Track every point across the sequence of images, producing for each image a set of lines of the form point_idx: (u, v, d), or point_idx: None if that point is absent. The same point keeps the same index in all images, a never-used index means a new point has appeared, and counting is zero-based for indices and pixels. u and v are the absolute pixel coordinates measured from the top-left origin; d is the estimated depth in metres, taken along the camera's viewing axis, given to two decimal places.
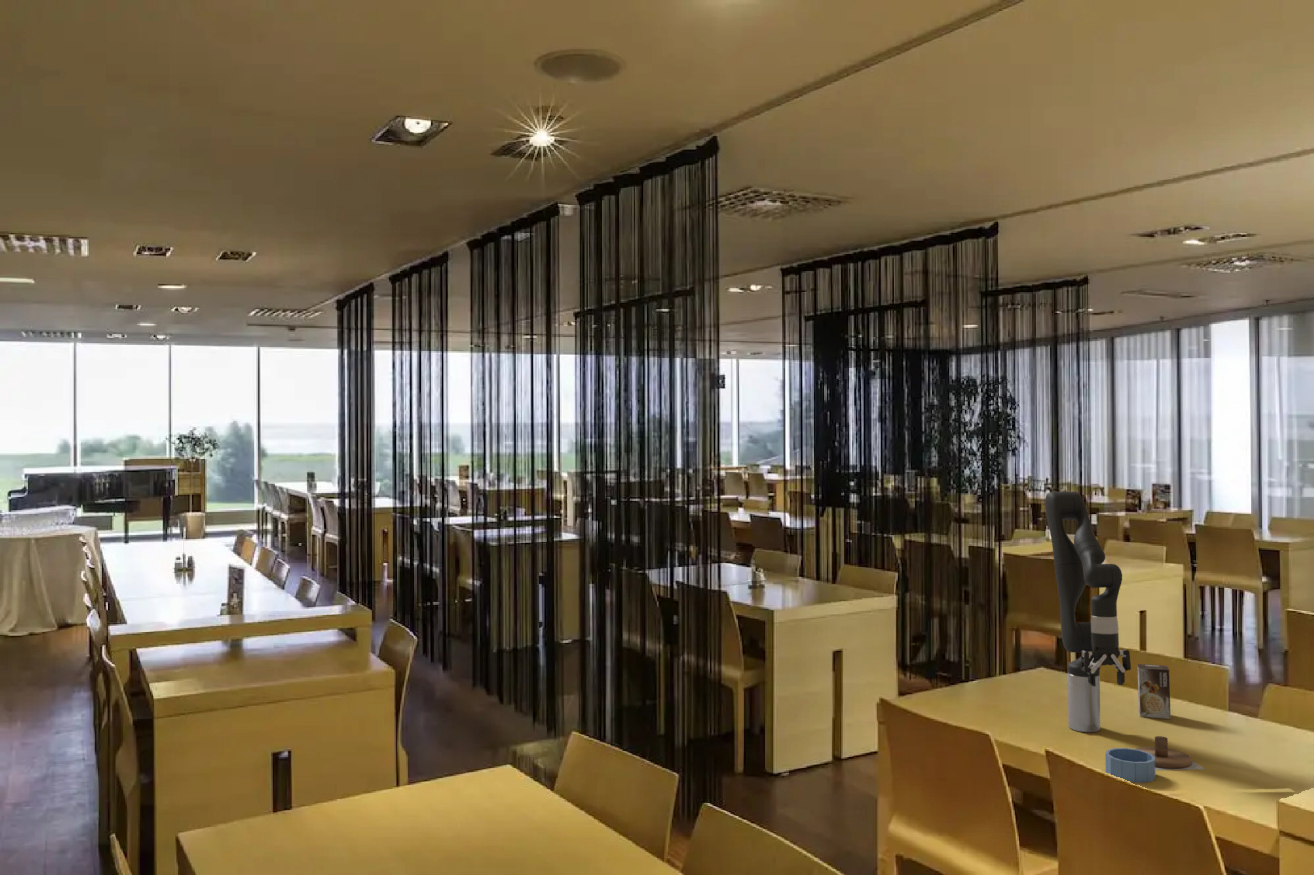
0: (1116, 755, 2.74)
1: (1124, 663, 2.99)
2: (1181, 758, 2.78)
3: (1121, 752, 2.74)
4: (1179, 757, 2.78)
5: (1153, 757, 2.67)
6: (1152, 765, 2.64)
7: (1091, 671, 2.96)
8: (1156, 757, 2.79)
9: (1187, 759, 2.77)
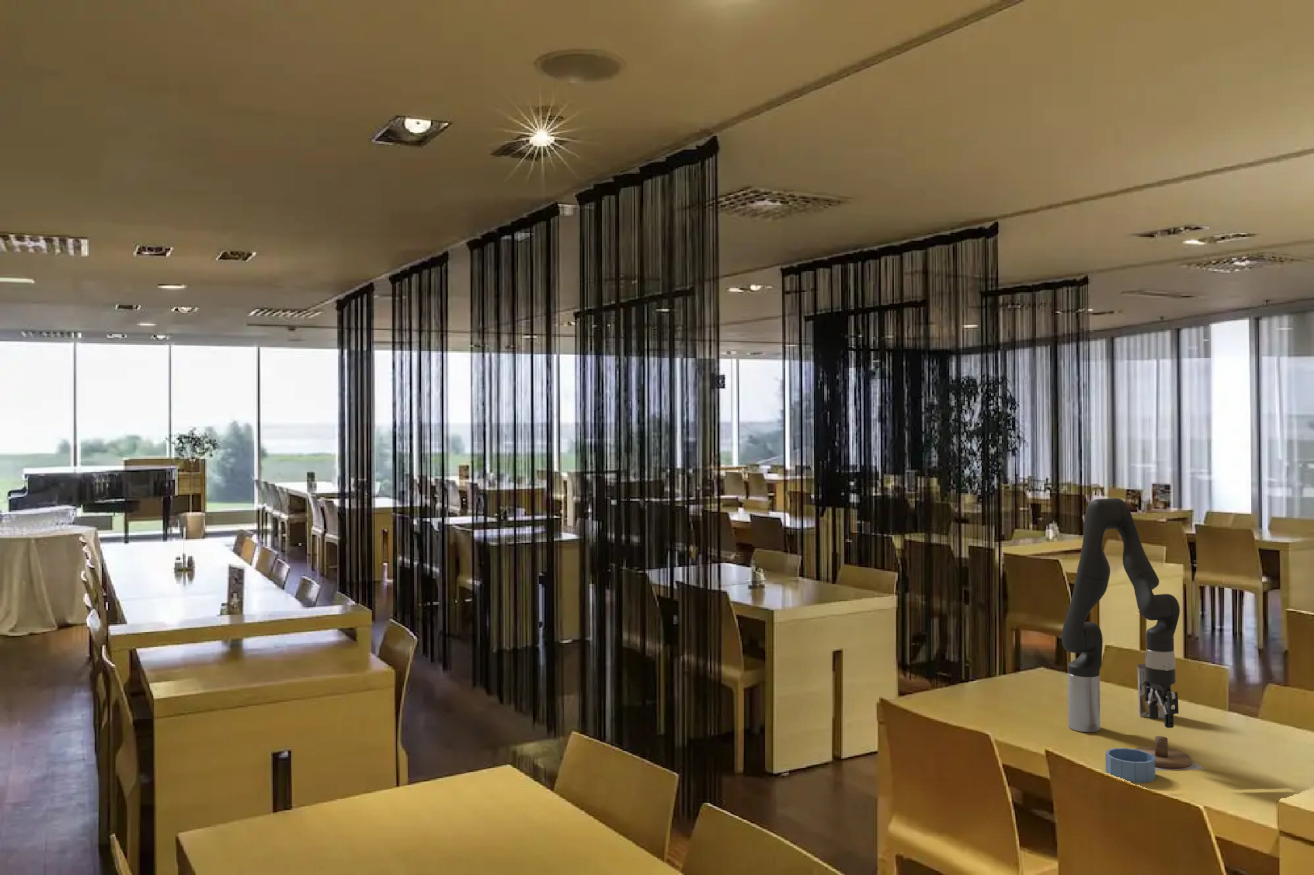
0: (1116, 755, 2.74)
1: None
2: (1181, 758, 2.78)
3: (1121, 752, 2.74)
4: (1179, 757, 2.78)
5: (1153, 757, 2.67)
6: (1152, 765, 2.64)
7: None
8: (1156, 757, 2.79)
9: (1187, 758, 2.77)
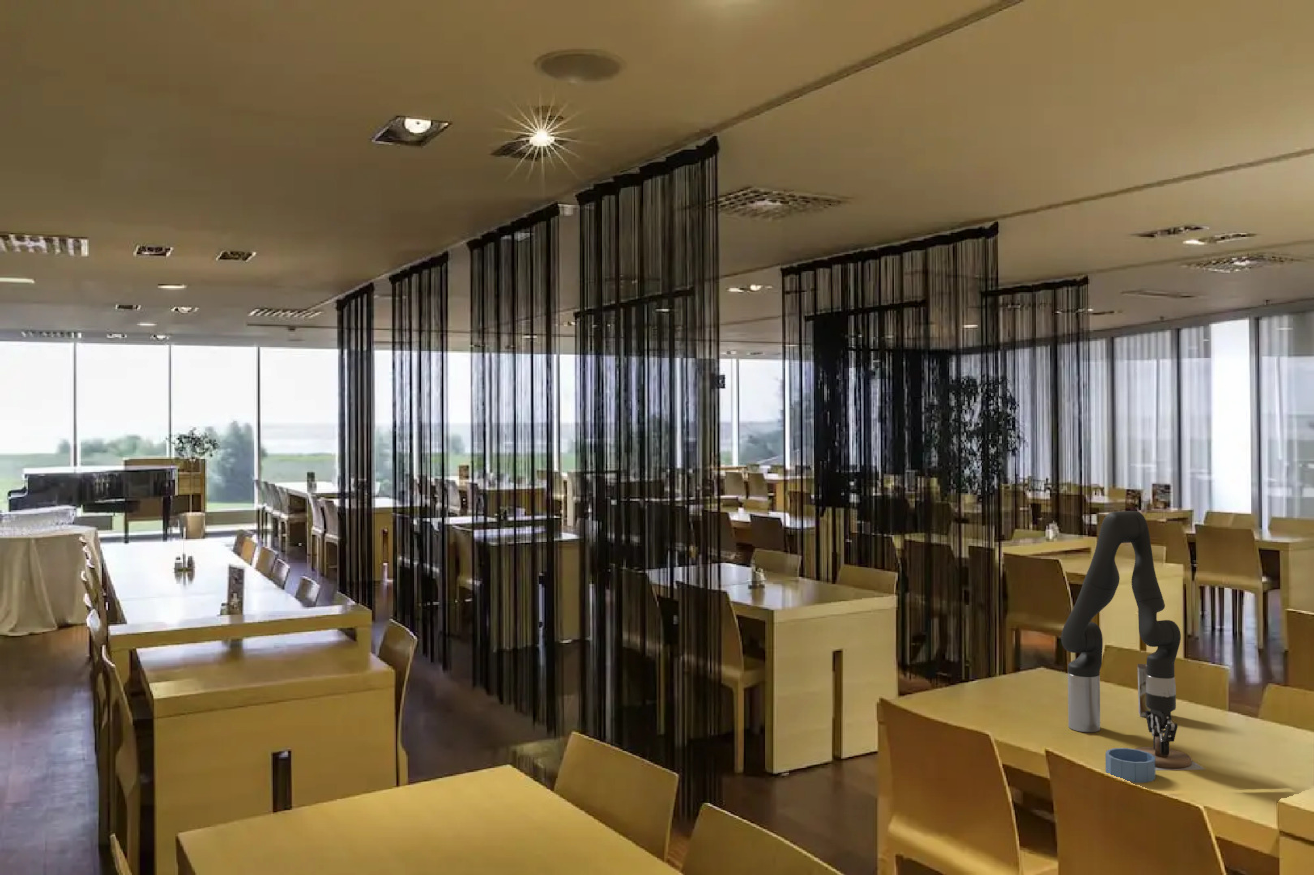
0: (1116, 755, 2.74)
1: None
2: (1181, 758, 2.78)
3: (1121, 752, 2.74)
4: (1178, 757, 2.78)
5: (1153, 757, 2.67)
6: (1152, 765, 2.64)
7: None
8: (1156, 757, 2.79)
9: (1187, 758, 2.77)
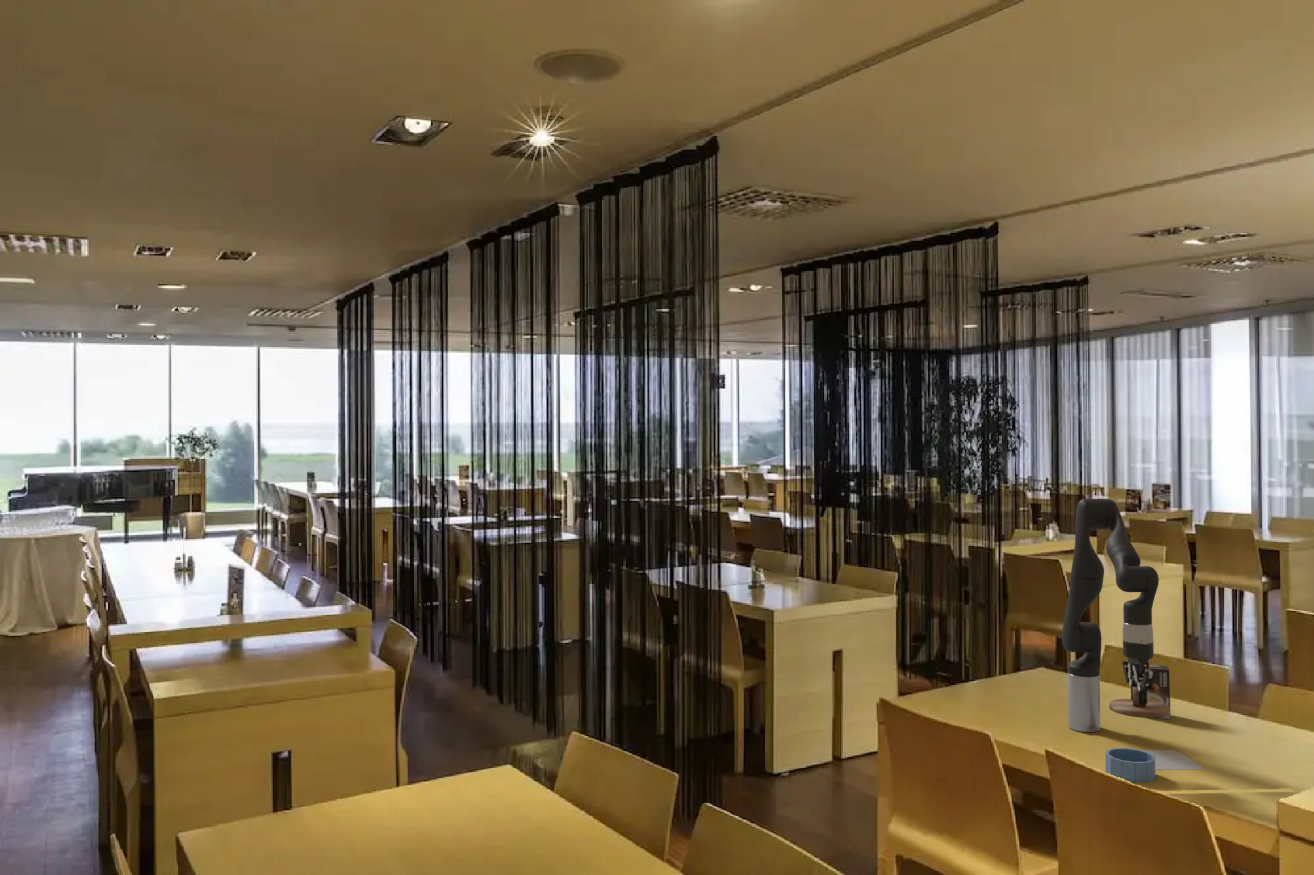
0: (1116, 755, 2.74)
1: None
2: (1160, 708, 2.68)
3: (1121, 752, 2.74)
4: (1157, 707, 2.69)
5: (1153, 757, 2.67)
6: (1152, 765, 2.64)
7: None
8: (1134, 707, 2.69)
9: (1166, 708, 2.68)
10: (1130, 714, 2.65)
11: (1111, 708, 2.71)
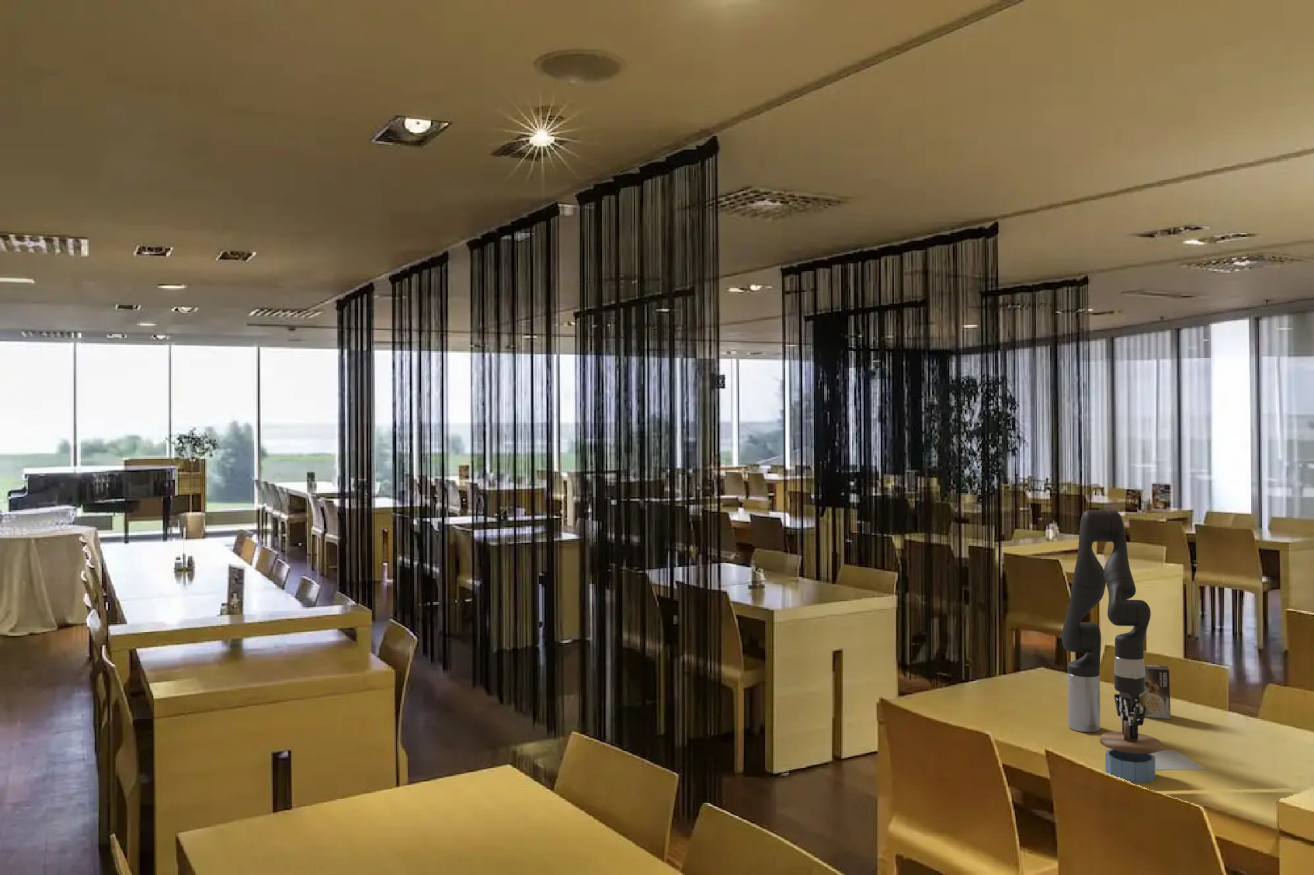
0: (1116, 755, 2.74)
1: None
2: (1151, 742, 2.67)
3: (1121, 752, 2.74)
4: (1148, 742, 2.67)
5: (1153, 757, 2.67)
6: (1152, 765, 2.64)
7: None
8: (1125, 742, 2.68)
9: (1157, 743, 2.66)
10: (1120, 749, 2.64)
11: (1102, 742, 2.70)
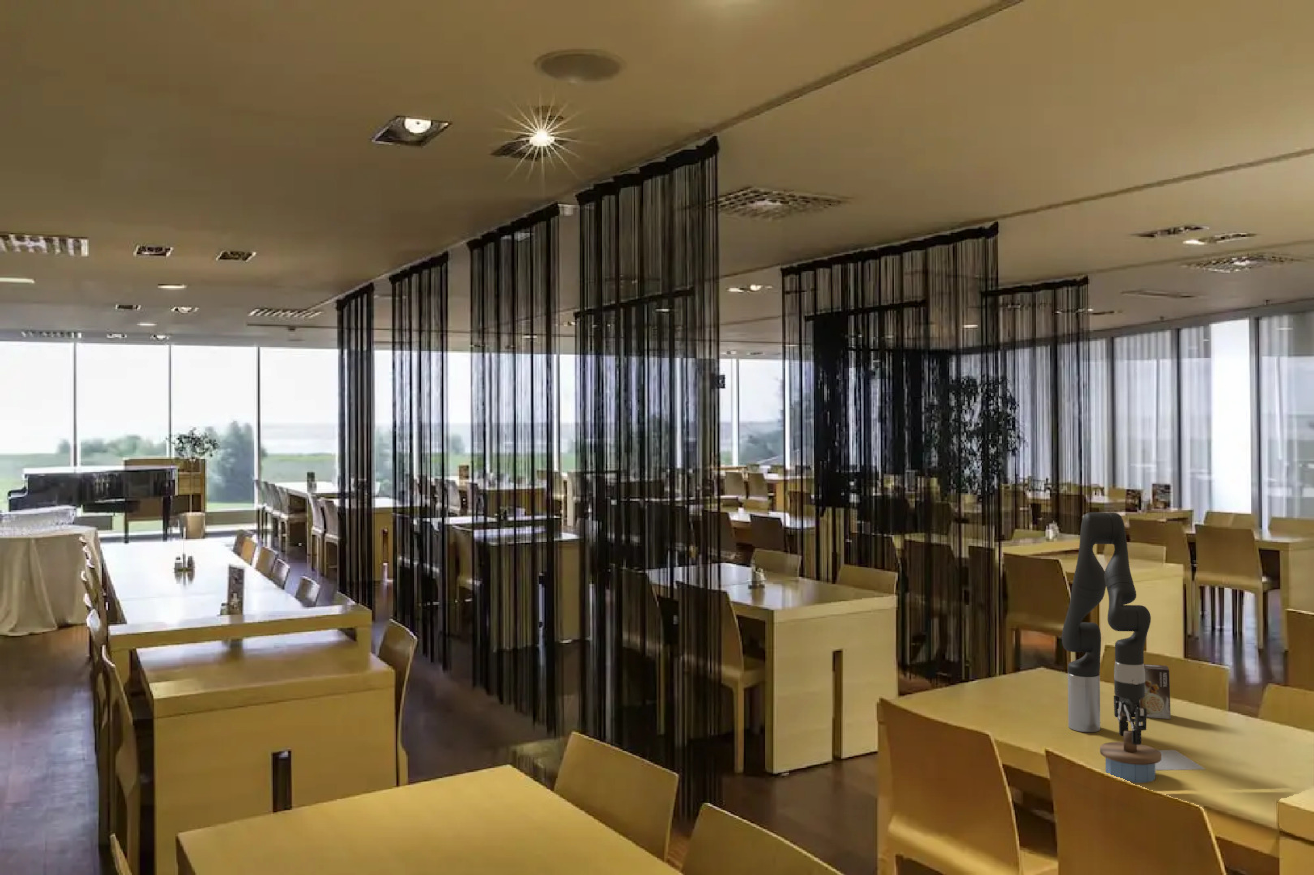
0: None
1: None
2: (1151, 753, 2.67)
3: None
4: (1148, 753, 2.67)
5: None
6: (1152, 765, 2.64)
7: None
8: (1125, 752, 2.68)
9: (1157, 754, 2.66)
10: (1120, 760, 2.64)
11: (1102, 753, 2.70)
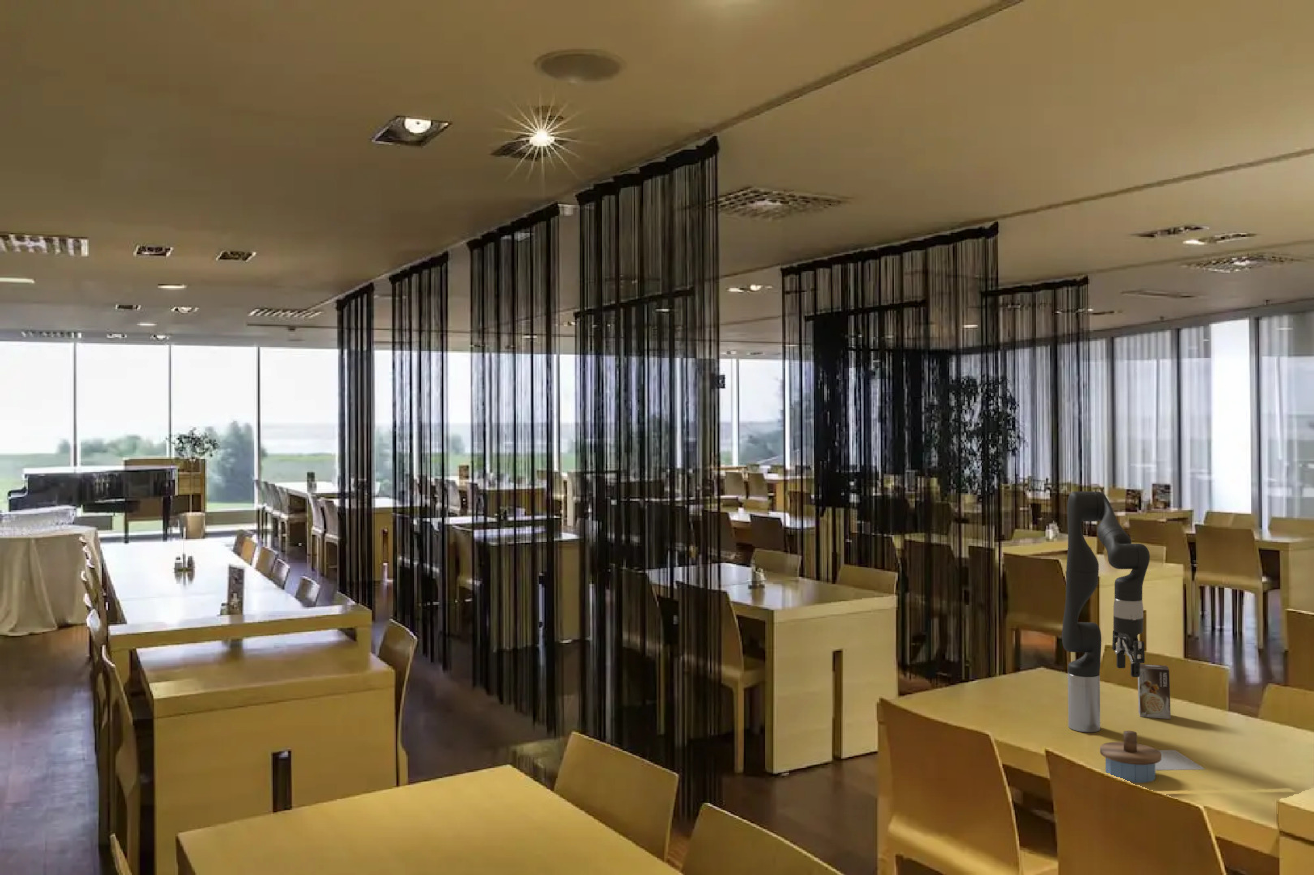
0: None
1: None
2: (1151, 753, 2.67)
3: None
4: (1148, 753, 2.67)
5: None
6: (1152, 765, 2.64)
7: None
8: (1125, 752, 2.68)
9: (1157, 754, 2.66)
10: (1120, 760, 2.64)
11: (1102, 753, 2.70)
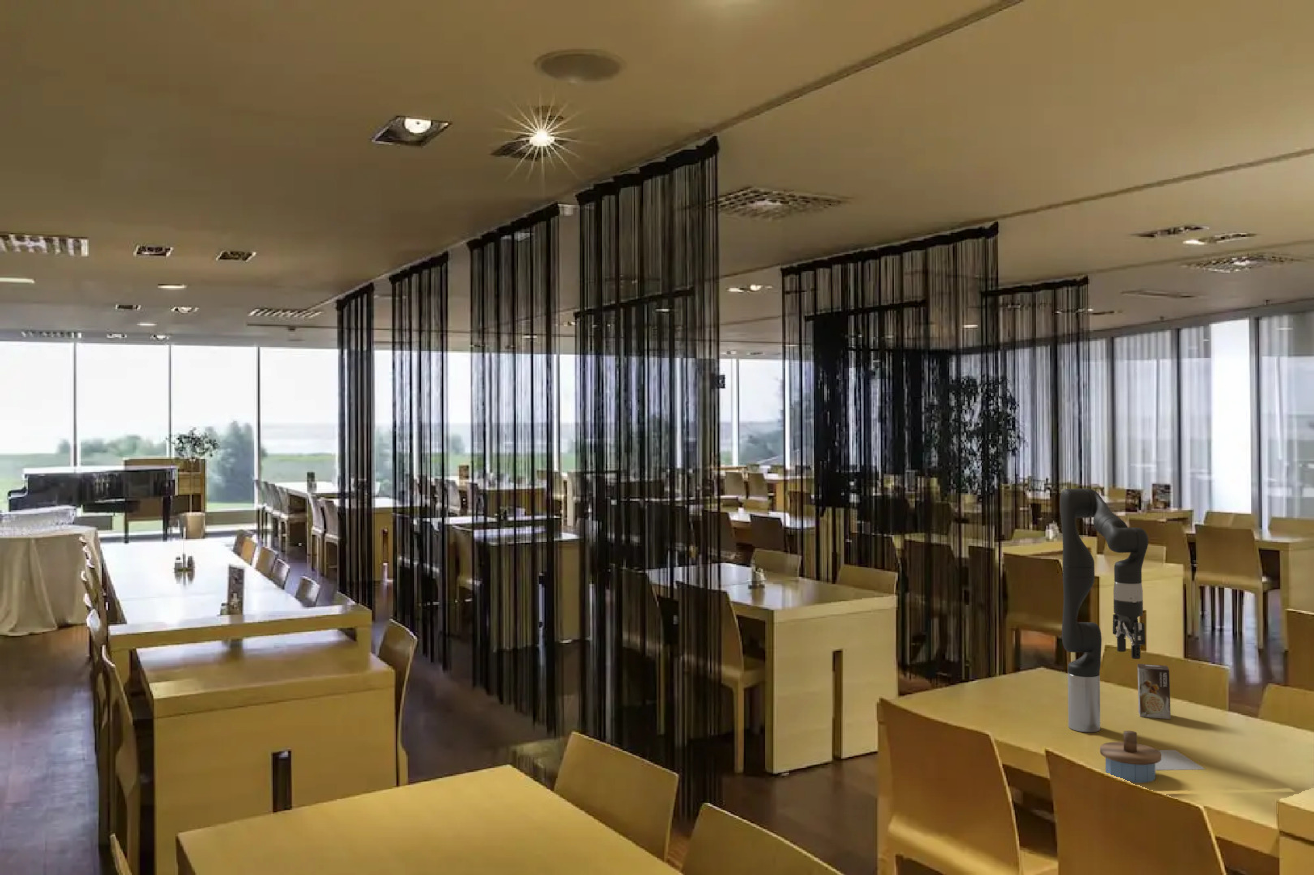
0: None
1: None
2: (1151, 753, 2.67)
3: None
4: (1148, 753, 2.67)
5: None
6: (1152, 765, 2.64)
7: None
8: (1125, 752, 2.68)
9: (1157, 754, 2.66)
10: (1120, 760, 2.64)
11: (1102, 753, 2.70)
